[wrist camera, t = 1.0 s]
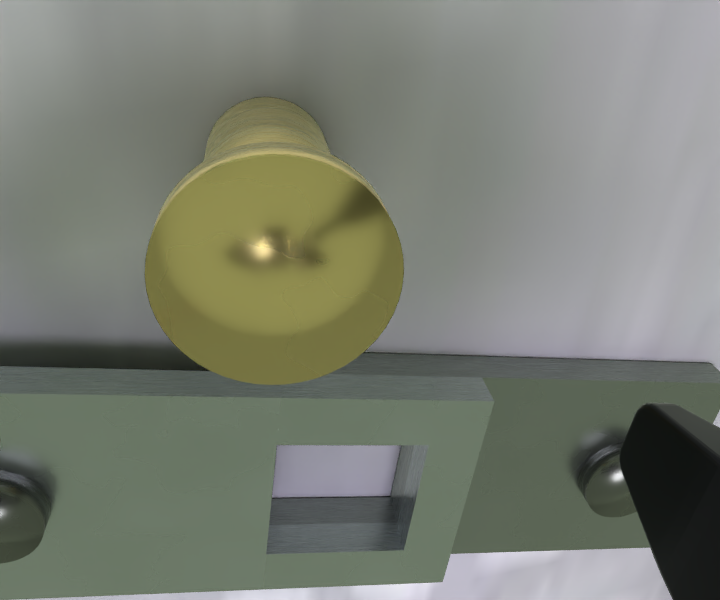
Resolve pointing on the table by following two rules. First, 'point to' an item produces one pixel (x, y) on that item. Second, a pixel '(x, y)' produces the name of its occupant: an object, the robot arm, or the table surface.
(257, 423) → the plate with square hole
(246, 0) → the table surface
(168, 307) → the brass pin
